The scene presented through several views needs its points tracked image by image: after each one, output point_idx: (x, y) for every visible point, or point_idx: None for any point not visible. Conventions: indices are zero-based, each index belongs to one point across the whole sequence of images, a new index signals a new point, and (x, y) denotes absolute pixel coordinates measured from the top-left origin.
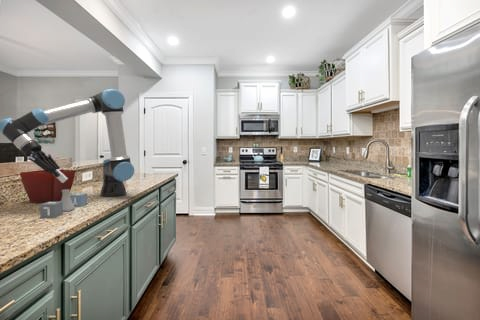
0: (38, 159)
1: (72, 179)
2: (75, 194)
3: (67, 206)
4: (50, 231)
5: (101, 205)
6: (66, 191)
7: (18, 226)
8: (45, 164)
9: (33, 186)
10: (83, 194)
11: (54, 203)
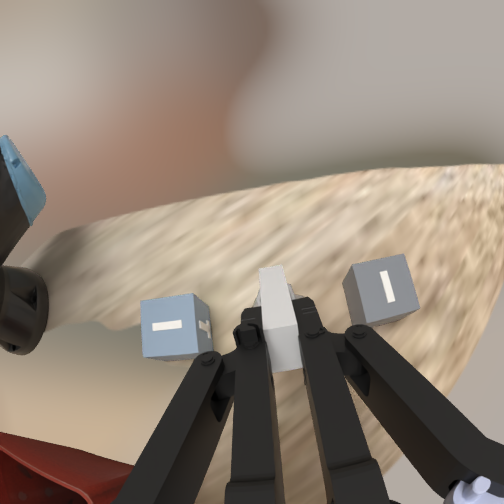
0: (472, 424)
1: (16, 437)
2: (173, 336)
3: (297, 295)
4: (464, 189)
5: (182, 244)
6: (289, 286)
7: (475, 293)
8: (404, 366)
9: None
10: (170, 297)
11: (391, 266)
